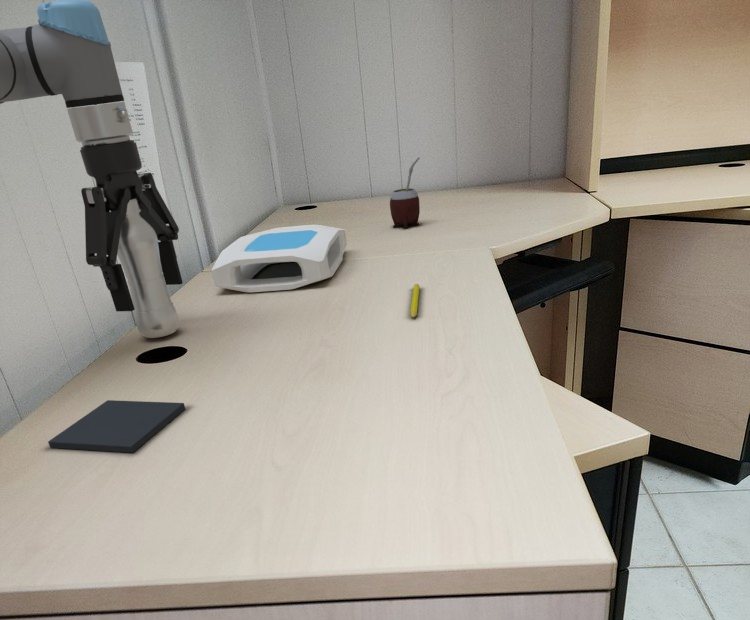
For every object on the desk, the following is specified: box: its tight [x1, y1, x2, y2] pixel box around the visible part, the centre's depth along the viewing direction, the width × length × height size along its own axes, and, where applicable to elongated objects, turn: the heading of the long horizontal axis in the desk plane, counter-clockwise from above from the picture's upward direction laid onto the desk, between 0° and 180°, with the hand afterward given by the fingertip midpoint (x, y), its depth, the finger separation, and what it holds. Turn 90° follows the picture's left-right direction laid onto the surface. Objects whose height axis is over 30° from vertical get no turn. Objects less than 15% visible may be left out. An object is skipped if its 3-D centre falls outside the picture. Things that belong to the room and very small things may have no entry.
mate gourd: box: [389, 157, 421, 230], centre depth 156 cm, size 8×8×15 cm
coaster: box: [47, 399, 186, 454], centre depth 76 cm, size 11×11×1 cm
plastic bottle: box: [117, 198, 180, 339], centre depth 100 cm, size 6×7×20 cm
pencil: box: [409, 283, 420, 318], centre depth 106 cm, size 16×1×1 cm, turn 175°
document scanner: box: [210, 224, 347, 293], centre depth 131 cm, size 21×28×6 cm
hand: (151, 296), depth 102 cm, fingers open, 13 cm apart
